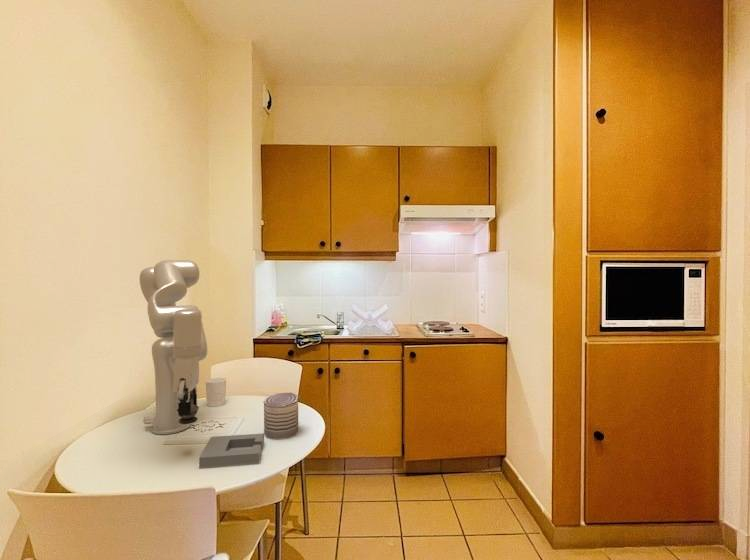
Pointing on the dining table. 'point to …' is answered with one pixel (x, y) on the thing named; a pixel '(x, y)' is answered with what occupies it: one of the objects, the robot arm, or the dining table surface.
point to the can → (281, 416)
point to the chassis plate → (232, 450)
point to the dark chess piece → (194, 409)
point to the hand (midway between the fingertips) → (187, 410)
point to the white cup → (216, 391)
